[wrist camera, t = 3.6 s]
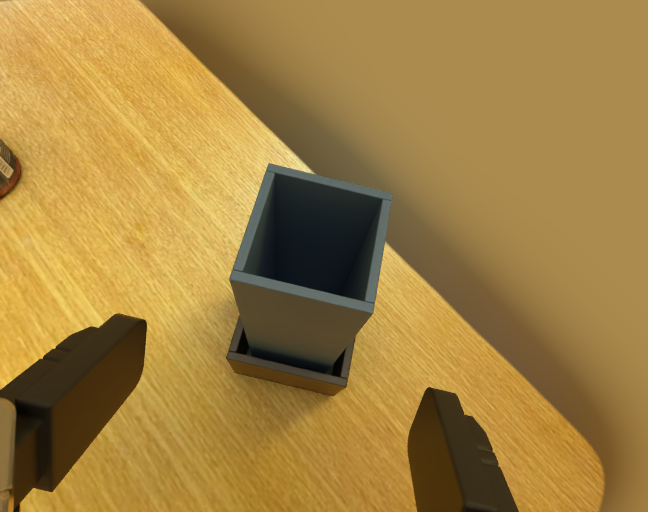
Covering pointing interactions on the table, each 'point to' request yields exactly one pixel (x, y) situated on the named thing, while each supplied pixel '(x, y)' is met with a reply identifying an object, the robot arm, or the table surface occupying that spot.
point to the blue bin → (309, 266)
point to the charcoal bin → (288, 367)
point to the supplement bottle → (8, 169)
